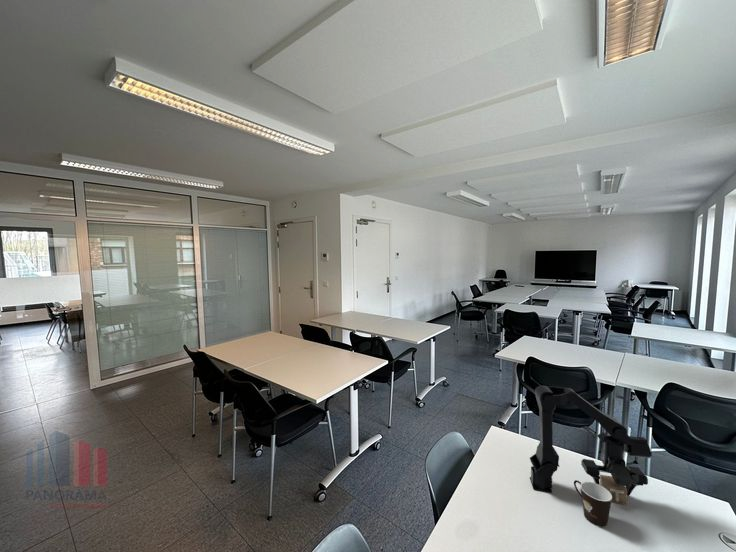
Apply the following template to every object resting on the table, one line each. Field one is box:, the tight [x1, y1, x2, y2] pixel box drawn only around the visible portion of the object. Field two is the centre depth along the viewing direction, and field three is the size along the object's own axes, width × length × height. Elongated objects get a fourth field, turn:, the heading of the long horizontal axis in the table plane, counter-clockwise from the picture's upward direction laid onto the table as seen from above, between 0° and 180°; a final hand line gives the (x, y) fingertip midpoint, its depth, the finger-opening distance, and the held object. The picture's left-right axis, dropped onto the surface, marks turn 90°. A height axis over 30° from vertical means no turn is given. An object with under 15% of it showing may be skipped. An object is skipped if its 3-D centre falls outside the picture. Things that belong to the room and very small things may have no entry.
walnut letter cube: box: [599, 474, 628, 506], centre depth 110 cm, size 6×6×6 cm
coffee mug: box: [573, 479, 612, 528], centre depth 102 cm, size 12×9×10 cm
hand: (612, 492), depth 110 cm, fingers open, 9 cm apart
